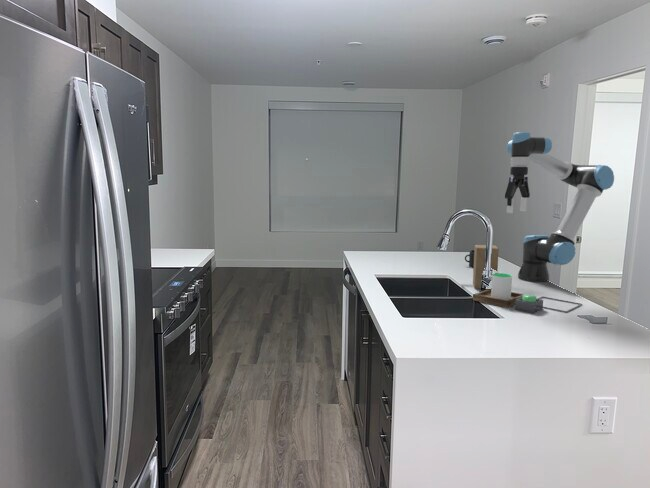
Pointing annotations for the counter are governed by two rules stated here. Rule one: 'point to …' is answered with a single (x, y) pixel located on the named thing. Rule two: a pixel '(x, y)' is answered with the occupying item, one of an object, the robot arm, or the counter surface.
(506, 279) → the mug
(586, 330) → the counter surface
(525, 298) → the button
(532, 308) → the control box
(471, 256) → the mug
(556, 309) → the tote frame
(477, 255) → the wooden block
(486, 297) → the wooden tray
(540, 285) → the counter surface
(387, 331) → the counter surface
